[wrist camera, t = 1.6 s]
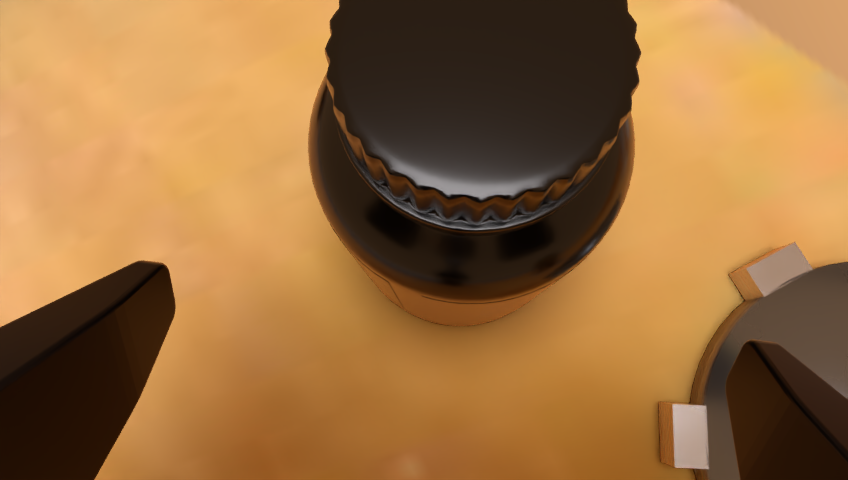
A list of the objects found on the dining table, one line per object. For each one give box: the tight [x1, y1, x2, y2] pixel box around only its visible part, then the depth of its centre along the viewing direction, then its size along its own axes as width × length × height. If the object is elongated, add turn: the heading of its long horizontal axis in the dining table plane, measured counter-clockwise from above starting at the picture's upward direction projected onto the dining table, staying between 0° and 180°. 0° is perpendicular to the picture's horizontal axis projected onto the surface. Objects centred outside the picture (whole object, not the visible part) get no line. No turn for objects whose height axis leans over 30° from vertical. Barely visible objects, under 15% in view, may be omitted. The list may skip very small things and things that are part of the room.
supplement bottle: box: [308, 0, 641, 326], centre depth 15 cm, size 7×7×12 cm
